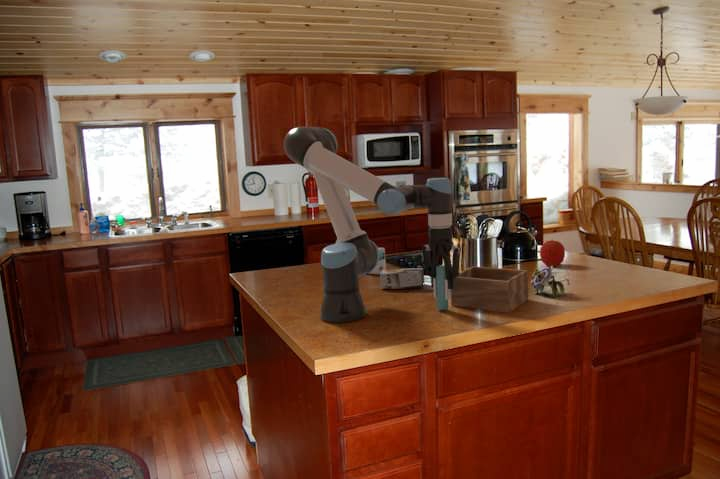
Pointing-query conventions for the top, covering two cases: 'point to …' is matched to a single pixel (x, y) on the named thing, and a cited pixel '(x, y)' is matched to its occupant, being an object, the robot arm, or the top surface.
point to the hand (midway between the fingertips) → (442, 297)
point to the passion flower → (546, 281)
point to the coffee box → (402, 278)
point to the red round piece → (552, 253)
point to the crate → (490, 289)
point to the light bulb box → (380, 262)
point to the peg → (441, 287)
